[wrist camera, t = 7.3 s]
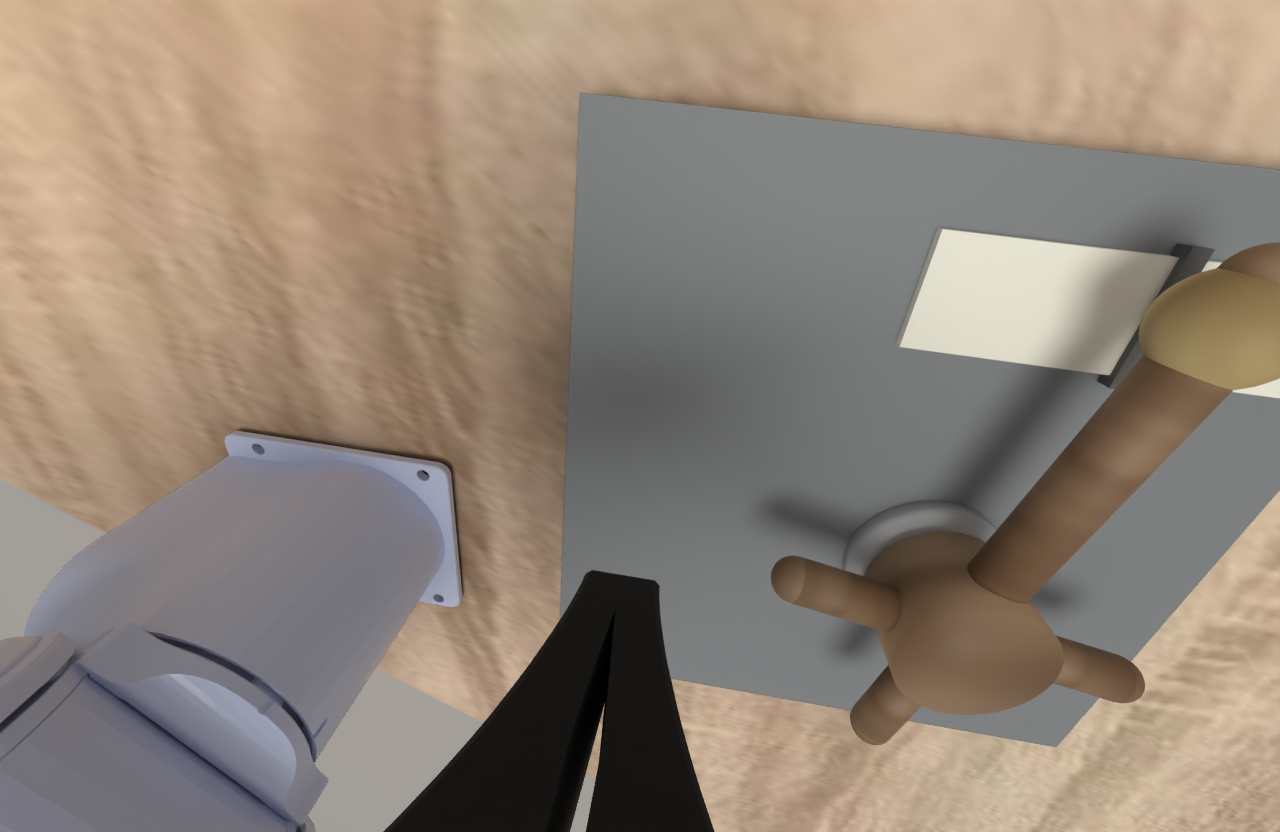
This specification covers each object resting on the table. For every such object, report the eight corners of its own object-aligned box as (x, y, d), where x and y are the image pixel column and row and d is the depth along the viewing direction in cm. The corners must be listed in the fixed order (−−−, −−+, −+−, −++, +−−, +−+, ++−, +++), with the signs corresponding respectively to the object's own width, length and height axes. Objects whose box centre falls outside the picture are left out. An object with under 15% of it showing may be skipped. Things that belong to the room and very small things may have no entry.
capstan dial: (988, 725, 20) (1034, 819, 17) (707, 640, 20) (706, 721, 17) (1451, 309, 12) (1685, 360, 9) (972, 150, 11) (1059, 150, 9)
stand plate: (566, 631, 24) (553, 674, 22) (592, 97, 14) (572, 89, 12) (1036, 713, 23) (1067, 766, 21) (1448, 192, 13) (1587, 201, 11)
